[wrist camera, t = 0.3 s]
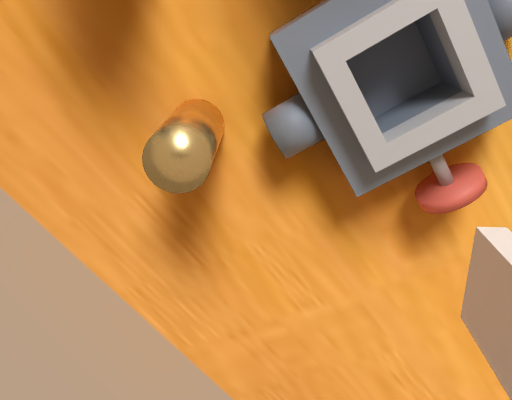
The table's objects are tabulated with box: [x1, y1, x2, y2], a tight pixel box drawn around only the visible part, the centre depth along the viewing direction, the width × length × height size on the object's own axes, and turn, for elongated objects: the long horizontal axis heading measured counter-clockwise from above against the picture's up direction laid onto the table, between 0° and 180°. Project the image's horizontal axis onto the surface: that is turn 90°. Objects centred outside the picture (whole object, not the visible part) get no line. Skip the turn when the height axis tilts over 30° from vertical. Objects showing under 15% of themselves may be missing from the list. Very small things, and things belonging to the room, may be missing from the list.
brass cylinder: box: [142, 99, 224, 193], centre depth 32 cm, size 4×4×9 cm
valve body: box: [262, 0, 512, 214], centre depth 32 cm, size 16×18×7 cm
